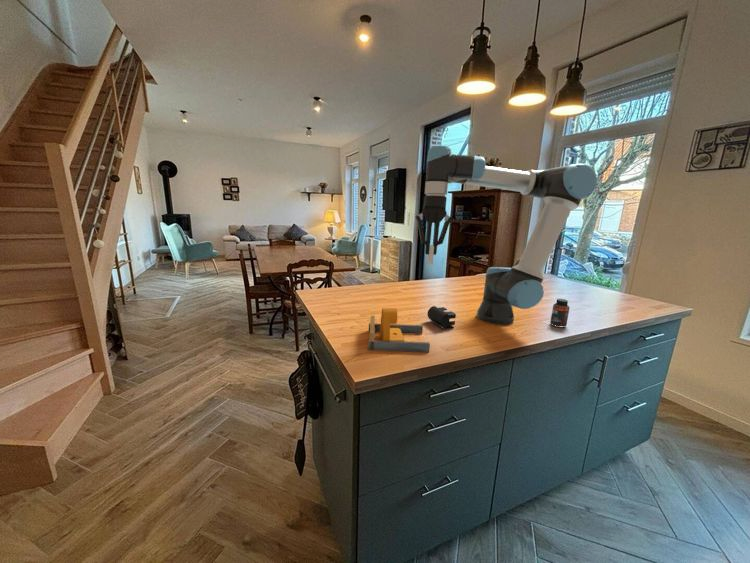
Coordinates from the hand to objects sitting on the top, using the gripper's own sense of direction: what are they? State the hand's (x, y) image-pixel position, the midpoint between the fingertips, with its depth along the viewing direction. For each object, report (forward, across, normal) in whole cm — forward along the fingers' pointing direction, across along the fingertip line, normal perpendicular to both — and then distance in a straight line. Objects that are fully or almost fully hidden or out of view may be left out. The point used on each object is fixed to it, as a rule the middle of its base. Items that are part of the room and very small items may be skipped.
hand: (429, 263), depth 108 cm
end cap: (+27, -8, -8) cm, 29 cm away
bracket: (+27, +13, +9) cm, 31 cm away
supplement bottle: (+27, -59, -13) cm, 66 cm away
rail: (+26, +11, +9) cm, 30 cm away
